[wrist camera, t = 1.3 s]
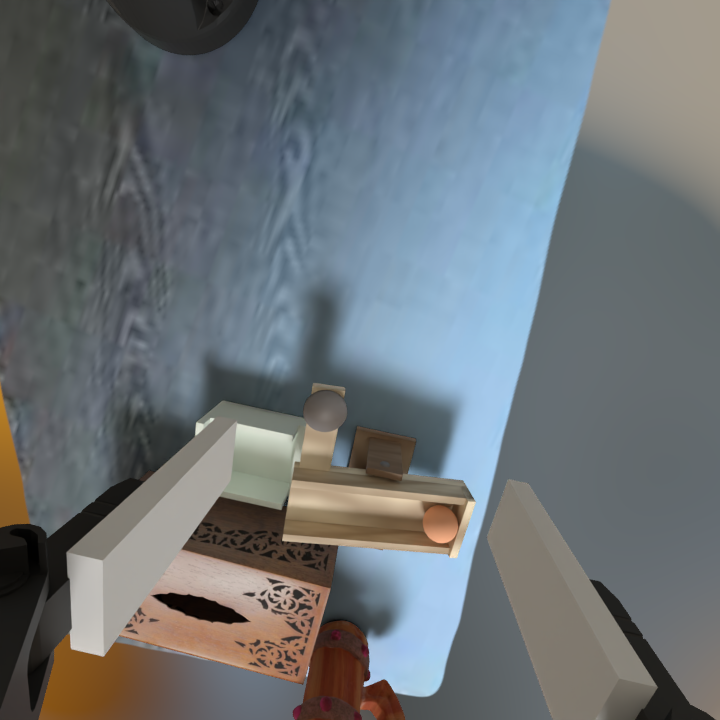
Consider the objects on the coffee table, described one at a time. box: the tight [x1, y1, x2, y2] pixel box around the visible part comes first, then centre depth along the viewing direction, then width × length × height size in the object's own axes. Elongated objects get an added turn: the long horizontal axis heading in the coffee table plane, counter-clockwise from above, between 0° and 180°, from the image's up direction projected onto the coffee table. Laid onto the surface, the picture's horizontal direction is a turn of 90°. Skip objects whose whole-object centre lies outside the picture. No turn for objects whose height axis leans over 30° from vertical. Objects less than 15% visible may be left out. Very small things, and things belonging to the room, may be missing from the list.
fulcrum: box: [349, 426, 416, 550], centre depth 39 cm, size 10×7×7 cm
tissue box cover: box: [119, 471, 338, 685], centre depth 43 cm, size 26×14×10 cm, turn 76°
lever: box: [282, 383, 476, 558], centre depth 35 cm, size 16×18×3 cm
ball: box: [423, 505, 458, 543], centre depth 36 cm, size 4×4×4 cm
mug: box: [293, 621, 405, 720], centre depth 43 cm, size 15×8×15 cm, turn 63°
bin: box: [195, 401, 306, 510], centre depth 40 cm, size 10×11×6 cm
